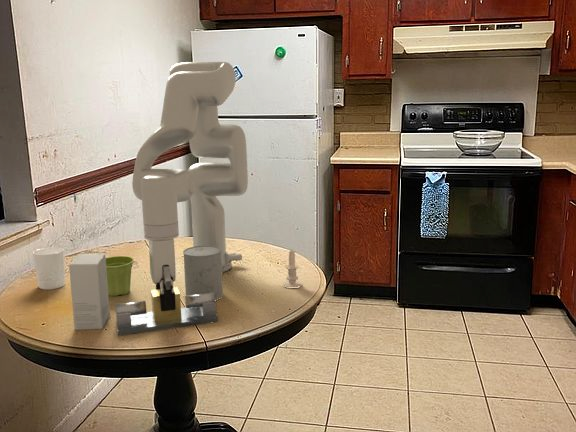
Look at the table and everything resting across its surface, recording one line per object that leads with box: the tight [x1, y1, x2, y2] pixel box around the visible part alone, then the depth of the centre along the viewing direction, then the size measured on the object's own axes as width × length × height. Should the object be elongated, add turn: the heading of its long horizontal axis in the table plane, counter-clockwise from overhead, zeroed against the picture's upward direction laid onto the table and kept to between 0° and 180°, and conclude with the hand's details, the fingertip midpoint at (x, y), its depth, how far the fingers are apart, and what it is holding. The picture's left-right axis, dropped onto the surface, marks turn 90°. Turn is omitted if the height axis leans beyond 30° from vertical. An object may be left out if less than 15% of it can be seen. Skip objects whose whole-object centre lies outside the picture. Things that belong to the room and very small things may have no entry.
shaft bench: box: [115, 292, 219, 336], centre depth 130 cm, size 22×9×6 cm, turn 108°
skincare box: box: [68, 252, 111, 331], centre depth 128 cm, size 8×7×16 cm
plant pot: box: [106, 255, 135, 297], centre depth 148 cm, size 9×9×9 cm
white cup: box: [32, 246, 66, 290], centre depth 154 cm, size 8×8×10 cm
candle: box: [282, 249, 303, 287], centre depth 152 cm, size 5×5×10 cm
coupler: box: [150, 286, 182, 322], centre depth 129 cm, size 6×4×7 cm
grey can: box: [182, 246, 224, 301], centre depth 144 cm, size 10×10×12 cm
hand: (165, 302), depth 129 cm, fingers open, 9 cm apart
